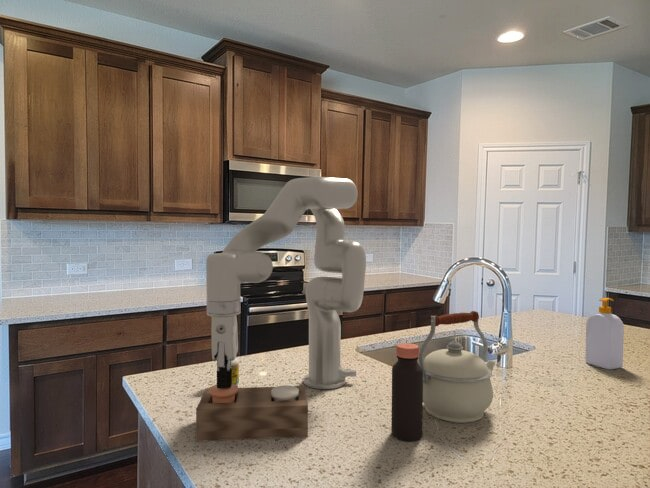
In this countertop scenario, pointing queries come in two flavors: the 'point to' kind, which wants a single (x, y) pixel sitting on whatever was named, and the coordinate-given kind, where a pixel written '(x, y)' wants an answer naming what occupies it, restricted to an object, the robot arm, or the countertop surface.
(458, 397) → the kettle
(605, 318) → the soap bottle
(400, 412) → the vinegar
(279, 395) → the cream button
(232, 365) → the supplement bottle
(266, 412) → the wooden shaker caddy
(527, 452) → the countertop surface
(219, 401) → the orange-brown round piece
